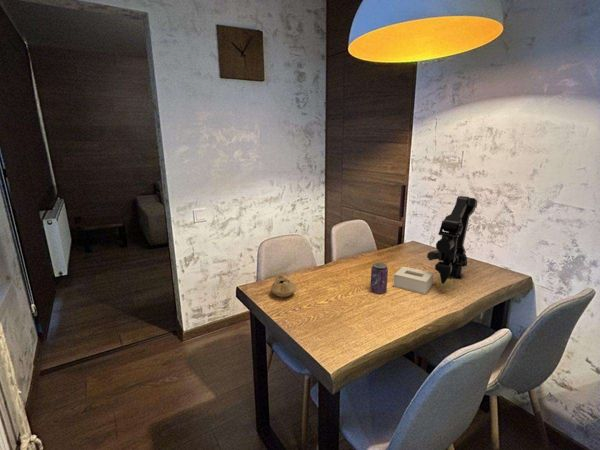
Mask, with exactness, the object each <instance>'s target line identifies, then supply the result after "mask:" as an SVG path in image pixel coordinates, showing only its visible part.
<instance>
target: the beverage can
mask: <svg viewBox="0 0 600 450" xmlns="http://www.w3.org/2000/svg"><path fill="white" fill-rule="evenodd" d="M370 270H371V271H370V283H369V284H370V285H369V288H370V290H371V291H372V292H373V293H376V294H382V293H385V292H387V290H388V289H387V288H388V275H389V274H388V273H389V269H388V265H387V264H386V263H383V262H374V263H372V267H371V268H370Z"/></svg>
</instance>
